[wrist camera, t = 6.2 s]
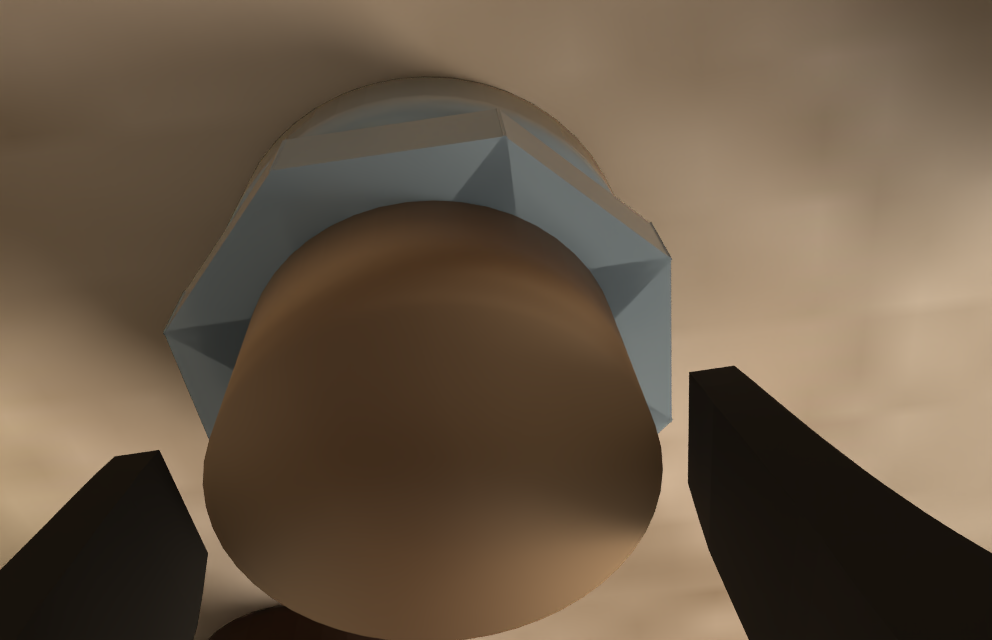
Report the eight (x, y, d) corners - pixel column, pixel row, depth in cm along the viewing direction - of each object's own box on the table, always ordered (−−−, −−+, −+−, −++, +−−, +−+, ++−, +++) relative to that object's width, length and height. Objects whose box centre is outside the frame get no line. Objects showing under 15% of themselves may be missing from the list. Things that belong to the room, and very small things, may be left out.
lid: (613, 176, 11) (667, 273, 9) (620, 481, 14) (660, 613, 12) (197, 228, 11) (134, 340, 9) (296, 522, 14) (269, 664, 12)
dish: (616, 46, 14) (671, 110, 11) (629, 394, 18) (672, 514, 15) (175, 110, 14) (103, 193, 11) (291, 444, 18) (264, 574, 15)
